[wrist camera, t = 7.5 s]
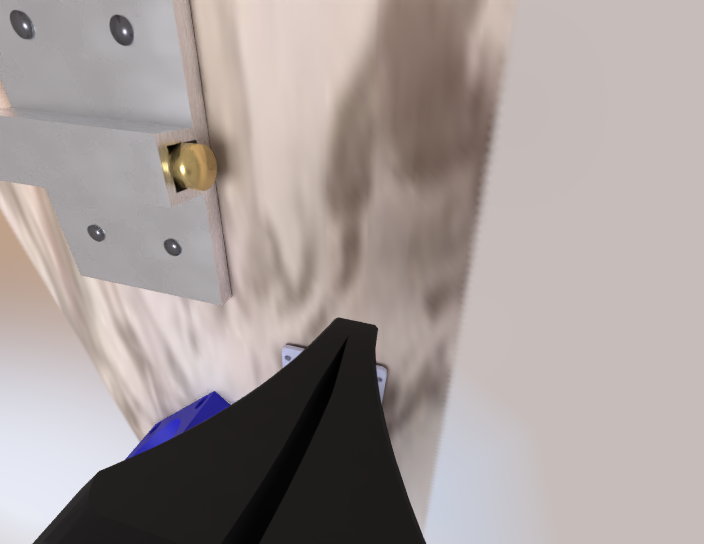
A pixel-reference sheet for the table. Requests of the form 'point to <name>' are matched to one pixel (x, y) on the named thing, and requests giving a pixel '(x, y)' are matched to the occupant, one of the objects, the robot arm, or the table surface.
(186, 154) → the brass headed pin
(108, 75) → the steel hinge
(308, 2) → the table surface
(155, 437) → the blue u-shaped cradle block
